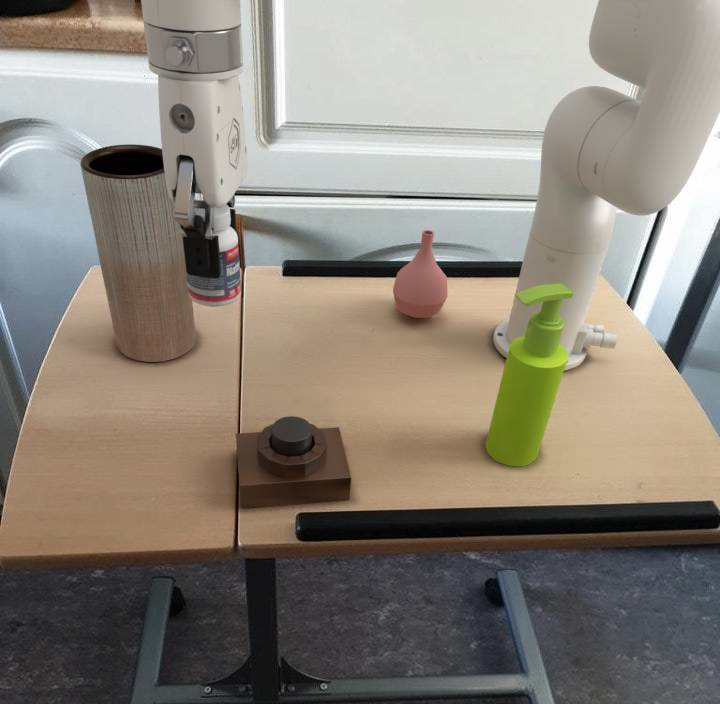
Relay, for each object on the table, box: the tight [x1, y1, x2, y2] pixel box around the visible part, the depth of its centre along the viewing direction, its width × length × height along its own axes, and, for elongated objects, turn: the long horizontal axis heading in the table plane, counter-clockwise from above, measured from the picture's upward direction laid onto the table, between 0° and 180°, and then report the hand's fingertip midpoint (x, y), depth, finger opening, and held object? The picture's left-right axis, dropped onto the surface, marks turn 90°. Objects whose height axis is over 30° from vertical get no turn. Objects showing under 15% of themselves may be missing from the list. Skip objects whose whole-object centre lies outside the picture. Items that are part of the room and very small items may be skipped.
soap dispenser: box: [485, 284, 573, 467], centre depth 73 cm, size 6×7×20 cm
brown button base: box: [235, 423, 352, 509], centre depth 72 cm, size 11×8×5 cm
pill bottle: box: [187, 199, 242, 308], centre depth 68 cm, size 5×5×9 cm
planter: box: [79, 143, 197, 363], centre depth 83 cm, size 10×10×23 cm
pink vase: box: [392, 229, 449, 319], centre depth 96 cm, size 8×8×12 cm
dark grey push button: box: [272, 415, 312, 457], centre depth 70 cm, size 4×4×2 cm
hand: (212, 259), depth 69 cm, fingers closed on pill bottle, 5 cm apart
